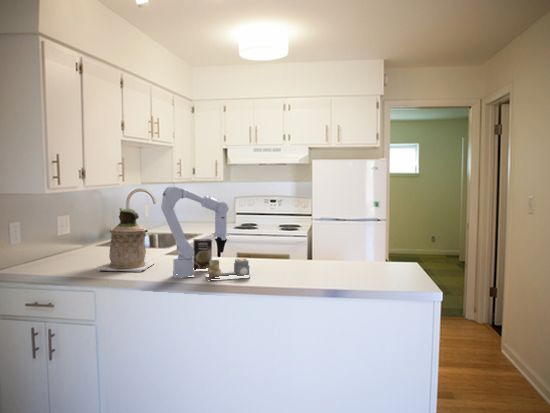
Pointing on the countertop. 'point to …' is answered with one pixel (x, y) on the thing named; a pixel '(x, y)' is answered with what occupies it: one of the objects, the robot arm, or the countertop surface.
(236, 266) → the blue-grey jar
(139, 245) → the cookie jar
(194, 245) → the coffee box
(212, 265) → the carriage
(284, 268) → the countertop surface
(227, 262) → the countertop surface
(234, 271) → the rail
